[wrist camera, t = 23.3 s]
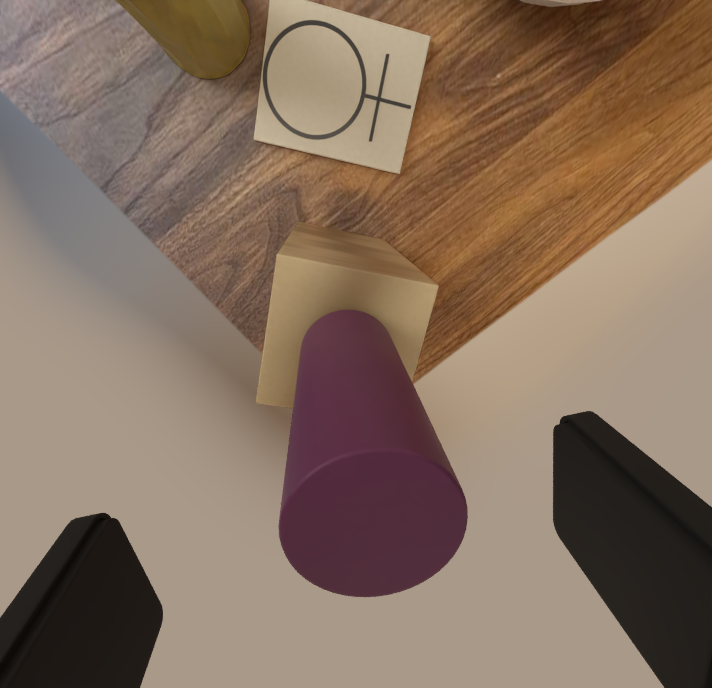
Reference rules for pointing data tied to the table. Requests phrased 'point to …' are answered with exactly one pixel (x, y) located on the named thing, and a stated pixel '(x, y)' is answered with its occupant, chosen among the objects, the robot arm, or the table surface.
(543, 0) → the bowl
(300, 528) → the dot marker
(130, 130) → the table surface
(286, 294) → the stand
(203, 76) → the vase
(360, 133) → the sketch card
